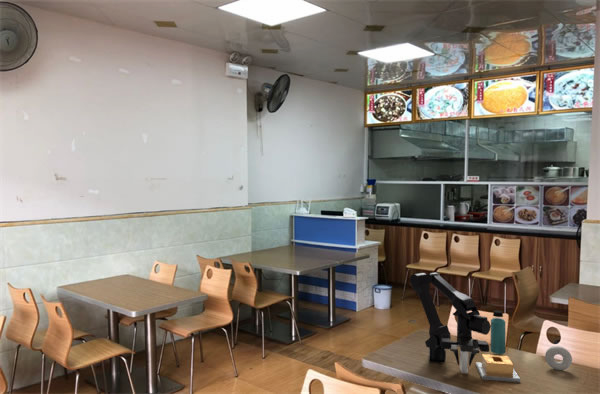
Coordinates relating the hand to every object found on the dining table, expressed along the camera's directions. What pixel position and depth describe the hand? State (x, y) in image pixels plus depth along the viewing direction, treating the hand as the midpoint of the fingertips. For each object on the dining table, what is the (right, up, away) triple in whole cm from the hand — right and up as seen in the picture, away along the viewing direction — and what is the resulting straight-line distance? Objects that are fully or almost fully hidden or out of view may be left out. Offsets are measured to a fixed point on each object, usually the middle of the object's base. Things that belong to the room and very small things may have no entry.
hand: (463, 365), depth 191 cm
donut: (+40, -3, +1) cm, 40 cm away
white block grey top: (0, -3, 0) cm, 2 cm away
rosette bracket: (+13, -3, -2) cm, 13 cm away
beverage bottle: (+22, -2, +18) cm, 29 cm away
